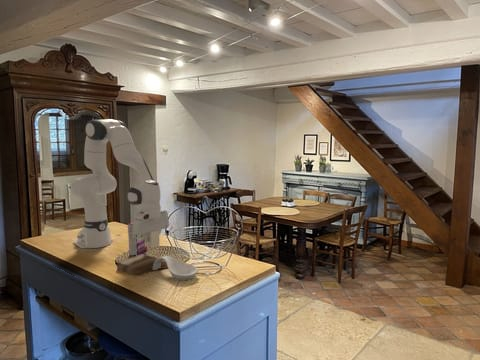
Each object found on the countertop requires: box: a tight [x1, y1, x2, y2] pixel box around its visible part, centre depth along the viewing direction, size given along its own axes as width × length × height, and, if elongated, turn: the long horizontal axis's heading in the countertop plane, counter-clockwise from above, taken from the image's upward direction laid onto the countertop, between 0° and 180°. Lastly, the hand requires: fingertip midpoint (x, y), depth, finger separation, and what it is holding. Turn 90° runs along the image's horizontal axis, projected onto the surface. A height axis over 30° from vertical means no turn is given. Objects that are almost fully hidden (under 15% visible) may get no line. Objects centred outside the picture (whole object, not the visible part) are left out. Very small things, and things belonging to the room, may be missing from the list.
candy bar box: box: [127, 221, 148, 256], centre depth 187 cm, size 11×5×16 cm, turn 168°
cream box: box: [145, 230, 160, 249], centre depth 180 cm, size 5×5×8 cm
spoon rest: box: [152, 255, 199, 281], centre depth 157 cm, size 24×12×7 cm, turn 55°
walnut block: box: [116, 253, 163, 277], centre depth 165 cm, size 14×14×4 cm
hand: (152, 240), depth 180 cm, fingers closed on cream box, 5 cm apart
